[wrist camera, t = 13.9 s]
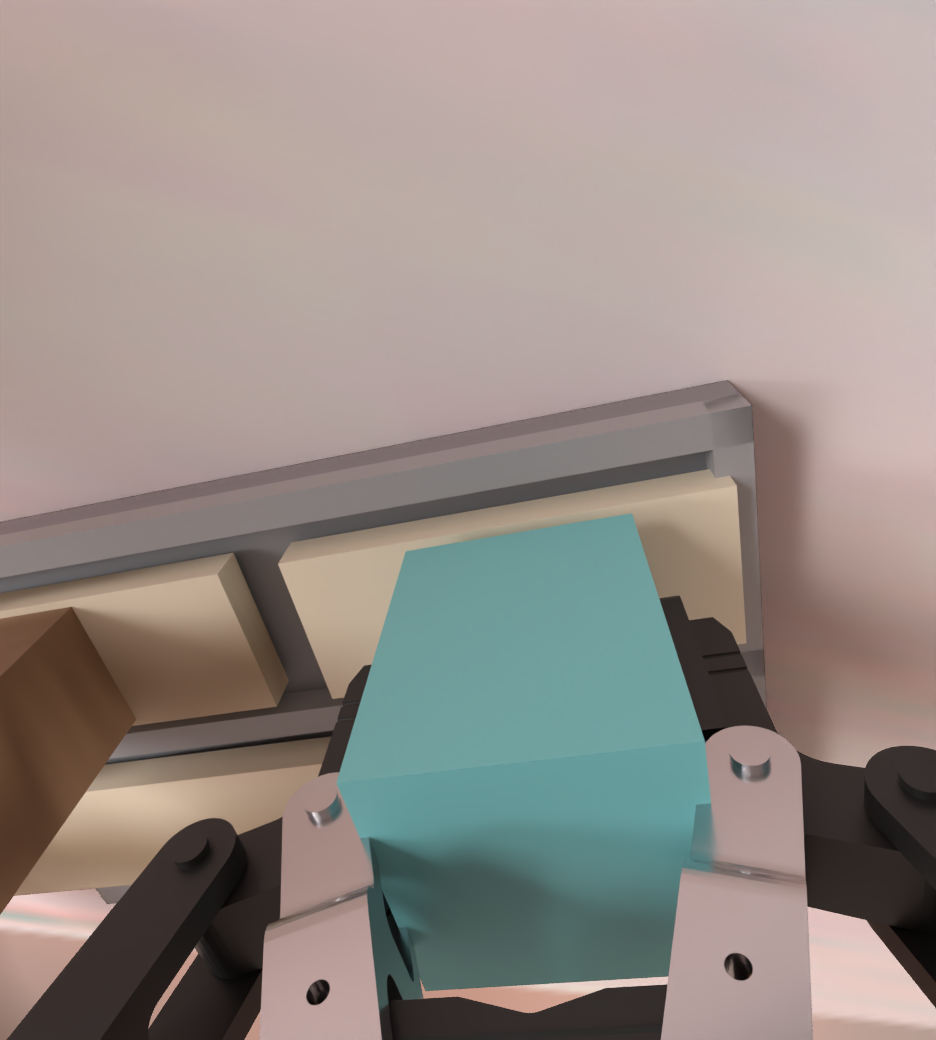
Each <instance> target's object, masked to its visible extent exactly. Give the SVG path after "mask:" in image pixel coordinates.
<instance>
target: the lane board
mask: <svg viewBox="0 0 936 1040" xmlns="http://www.w3.org/2000/svg"><path fill="white" fill-rule="evenodd" d="M631 513H632V515H633V518H634V521H635V524H636V528H637V531H638V534H639V537H640V540H641V543H642V546H643V549H644V552H645V556H646V559H647V562H648V565H649V568H650V571H651V574H652V577H653V581H654V584H655V587H656V590H657V593H658V596H659V598H664V597H671V596H678V595H679V596H680V597H681V600H682V602H683V605H684V608H685V610H686V613H687V616H688V619H689V620H695V619H702V618H709V617H713V618H715V619H716V620H717V621H719V622H720V623H721V624H722V625H724V626H725V627H726V628H727V629H729V630H730V631H731V632H732V634H733V636H734V638H735V641H736V643H737V645H738V647H739V649H740V653H741V655H742V656H743V658H744V661H745V663H746V665H747V669H748V671H749V672H750V674H751V676H752V678H753V681H754V683H755V685H756V687H757V689H758V692H759V694H760V696H761V698H762V701H763V703H764V705H765V707H766V686H765V665H764V645H763V624H762V604H761V583H760V562H759V542H758V521H757V501H756V480H755V459H754V439H753V418H752V405H751V404H750V403H749V402H748V401H747V400H746V399H745V398H744V397H743V396H742V395H741V394H740V392H739V391H738V390H737V389H736V388H735V387H734V386H733V385H732V384H731V383H730V382H729V381H728V380H727V381H722V382H717V383H712V384H706V385H701V386H696V387H691V388H686V389H681V390H676V391H670V392H665V393H660V394H655V395H650V396H645V397H640V398H635V399H629V400H624V401H619V402H614V403H609V404H604V405H599V406H594V407H588V408H583V409H578V410H573V411H568V412H563V413H558V414H552V415H547V416H542V417H537V418H532V419H527V420H522V421H517V422H511V423H506V424H501V425H496V426H491V427H486V428H481V429H476V430H470V431H465V432H460V433H455V434H450V435H445V436H440V437H434V438H429V439H424V440H419V441H414V442H409V443H404V444H399V445H393V446H388V447H383V448H378V449H373V450H368V451H363V452H358V453H352V454H347V455H342V456H337V457H332V458H327V459H322V460H316V461H311V462H306V463H301V464H296V465H291V466H286V467H281V468H275V469H270V470H265V471H260V472H255V473H250V474H245V475H240V476H234V477H229V478H224V479H219V480H214V481H209V482H204V483H198V484H193V485H188V486H183V487H178V488H173V489H168V490H163V491H157V492H152V493H147V494H142V495H137V496H132V497H127V498H122V499H116V500H111V501H106V502H101V503H96V504H91V505H86V506H80V507H75V508H70V509H65V510H60V511H55V512H50V513H45V514H39V515H34V516H29V517H24V518H19V519H14V520H9V521H4V522H0V593H6V592H12V591H17V590H23V589H29V588H34V587H40V586H46V585H52V584H57V583H63V582H69V581H74V580H80V579H86V578H91V577H97V576H103V575H109V574H114V573H120V572H126V571H131V570H137V569H143V568H148V567H154V566H160V565H166V564H171V563H177V562H183V561H188V560H194V559H200V558H205V557H211V556H217V555H223V554H228V553H234V555H235V558H236V560H237V562H238V564H239V567H240V569H241V571H242V574H243V576H244V578H245V581H246V583H247V585H248V588H249V590H250V592H251V594H252V597H253V599H254V601H255V604H256V606H257V608H258V611H259V613H260V615H261V618H262V620H263V622H264V624H265V627H266V629H267V631H268V634H269V636H270V638H271V641H272V643H273V645H274V648H275V650H276V652H277V654H278V657H279V659H280V661H281V664H282V666H283V668H284V671H285V673H286V675H287V678H288V680H289V681H288V683H287V686H286V688H285V690H284V692H283V694H282V697H281V699H280V701H279V703H278V705H277V707H270V708H263V709H255V710H248V711H240V712H233V713H225V714H218V715H211V716H203V717H196V718H188V719H181V720H173V721H166V722H159V723H151V724H144V725H136V726H131V728H130V729H129V731H128V732H127V734H126V735H125V736H124V738H123V739H122V741H121V742H120V744H119V745H118V746H117V748H116V749H115V751H114V752H113V754H112V755H111V756H110V758H109V759H108V761H107V762H106V764H105V765H107V764H115V763H123V762H131V761H139V760H147V759H155V758H162V757H170V756H178V755H186V754H194V753H202V752H210V751H218V750H226V749H234V748H242V747H250V746H258V745H266V744H274V743H282V742H290V741H298V740H306V739H314V738H322V737H330V736H332V733H333V730H334V727H335V724H336V723H337V722H338V719H337V718H338V715H339V712H340V709H341V707H343V700H344V697H345V694H346V691H347V688H348V685H349V683H350V682H351V681H352V679H353V678H354V677H355V676H356V675H357V673H358V672H359V671H360V670H361V669H362V667H363V666H365V665H372V662H373V659H374V655H375V652H376V649H377V645H378V642H379V639H380V635H381V632H382V629H383V625H384V622H385V619H386V615H387V612H388V609H389V605H390V602H391V599H392V595H393V592H394V589H395V585H396V582H397V579H398V575H399V572H400V569H401V565H402V562H403V559H404V555H405V552H406V551H410V550H416V549H422V548H428V547H434V546H440V545H446V544H452V543H458V542H464V541H470V540H476V539H482V538H488V537H494V536H500V535H506V534H512V533H517V532H523V531H529V530H535V529H541V528H547V527H553V526H559V525H565V524H571V523H577V522H583V521H589V520H595V519H601V518H607V517H613V516H619V515H625V514H631ZM766 709H767V707H766ZM130 886H131V885H124V886H113V887H103V888H96V890H97V891H98V892H99V894H100V895H101V897H102V898H103V900H104V901H105V902H106V904H113V903H117V902H118V901H119V900H120V899H121V898H122V896H123V895H124V894H125V893H126V891H127V890H128V889H129V888H130Z"/></svg>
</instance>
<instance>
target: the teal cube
mask: <svg viewBox="0 0 936 1040" xmlns="http://www.w3.org/2000/svg"><path fill="white" fill-rule="evenodd" d="M336 783H337V786H338V788H339V790H340V793H341V795H342V797H343V800H344V802H345V804H346V807H347V809H348V811H349V814H350V816H351V818H352V821H353V823H354V825H355V828H356V830H357V832H358V835H359V837H360V838H366V837H369V839H370V841H371V844H372V846H373V849H374V851H375V853H376V856H377V858H378V863H379V871H380V878H381V886H382V891H383V893H384V895H385V898H386V900H387V902H388V905H389V907H390V909H391V912H392V914H393V916H394V919H395V921H396V923H397V926H398V928H401V927H407V929H408V932H409V934H410V936H411V939H412V941H413V944H414V946H415V952H416V958H417V964H418V971H419V977H420V979H421V981H422V984H423V986H424V988H425V991H433V990H449V989H466V988H482V987H500V986H516V985H533V984H549V983H566V982H582V981H599V980H615V979H632V978H648V977H665V976H669V968H670V960H671V952H672V943H673V935H674V927H675V919H676V910H677V902H678V894H679V886H680V878H681V871H682V866H683V862H684V860H685V859H690V854H691V846H692V837H693V828H694V819H695V810H696V805H698V804H708V803H711V796H710V787H709V777H708V767H707V757H706V747H705V740H704V737H703V734H702V730H701V727H700V724H699V721H698V718H697V715H696V712H695V709H694V706H693V702H692V699H691V696H690V693H689V690H688V687H687V684H686V681H685V677H684V674H683V671H682V668H681V665H680V662H679V659H678V656H677V652H676V649H675V646H674V643H673V640H672V637H671V634H670V631H669V627H668V624H667V621H666V618H665V615H664V612H663V609H662V606H661V602H660V599H659V596H658V593H657V590H656V587H655V584H654V581H653V577H652V574H651V571H650V568H649V565H648V562H647V559H646V556H645V552H644V549H643V546H642V543H641V540H640V537H639V534H638V531H637V528H636V524H635V521H634V518H633V515H632V513H631V514H625V515H619V516H613V517H607V518H601V519H595V520H589V521H583V522H577V523H571V524H565V525H559V526H553V527H547V528H541V529H535V530H529V531H523V532H517V533H512V534H506V535H500V536H494V537H488V538H482V539H476V540H470V541H464V542H458V543H452V544H446V545H440V546H434V547H428V548H422V549H416V550H410V551H406V552H405V555H404V559H403V562H402V565H401V569H400V572H399V575H398V579H397V582H396V585H395V589H394V592H393V595H392V599H391V602H390V605H389V609H388V612H387V615H386V619H385V622H384V625H383V629H382V632H381V635H380V639H379V642H378V645H377V649H376V652H375V655H374V659H373V662H372V665H371V669H370V672H369V675H368V679H367V682H366V685H365V689H364V692H363V695H362V699H361V702H360V705H359V709H358V712H357V716H356V719H355V722H354V726H353V729H352V732H351V736H350V739H349V742H348V746H347V749H346V752H345V756H344V759H343V762H342V766H341V769H340V772H339V776H338V779H337V782H336Z"/></svg>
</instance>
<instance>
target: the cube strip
mask: <svg viewBox="0 0 936 1040" xmlns="http://www.w3.org/2000/svg"><path fill="white" fill-rule="evenodd" d="M330 739H331V736H330V737H322V738H314V739H306V740H298V741H290V742H282V743H274V744H266V745H258V746H250V747H242V748H234V749H226V750H218V751H210V752H202V753H194V754H186V755H178V756H170V757H162V758H155V759H147V760H139V761H131V762H123V763H115V764H107V765H104V767H103V768H102V769H101V771H100V772H99V774H98V775H97V777H96V778H95V779H94V781H93V782H92V784H91V785H90V787H89V788H88V790H87V791H86V792H85V794H84V795H83V797H82V798H81V800H80V801H79V802H78V804H77V805H76V807H75V808H74V810H73V811H72V812H71V814H70V815H69V817H68V818H67V820H66V821H65V823H64V824H63V825H62V827H61V828H60V830H59V831H58V833H57V834H56V835H55V837H54V838H53V840H52V841H51V843H50V844H49V846H48V847H47V848H46V850H45V851H44V853H43V854H42V856H41V857H40V858H39V860H38V861H37V863H36V864H35V866H34V867H33V868H32V870H31V871H30V873H29V874H28V876H27V877H26V879H25V880H24V881H23V883H22V884H21V886H20V887H19V889H18V890H17V891H16V893H15V894H14V896H17V895H27V894H38V893H49V892H60V891H70V890H81V889H92V888H103V887H113V886H124V885H132V884H133V883H134V881H135V880H136V879H137V878H138V876H139V875H140V874H141V873H142V872H143V870H144V869H145V868H146V867H147V865H148V864H149V863H150V862H151V860H152V859H153V858H154V857H155V855H156V854H157V853H158V852H159V850H160V849H161V848H162V847H163V846H164V845H165V843H166V842H167V841H168V840H169V839H170V838H171V837H173V836H174V835H175V834H176V833H178V832H179V831H180V830H182V829H183V828H185V827H187V826H188V825H191V824H193V823H195V822H197V821H200V820H204V819H208V818H221V819H224V820H226V821H228V822H230V824H231V825H232V826H233V827H234V829H235V831H236V833H237V835H239V834H242V833H244V832H247V831H249V830H252V829H254V828H257V827H260V826H262V825H265V824H267V823H270V822H272V821H275V820H277V819H279V818H281V817H283V813H284V810H285V807H286V805H287V803H288V801H289V800H290V798H291V797H292V796H293V795H294V794H295V792H296V791H297V790H298V789H300V788H301V787H302V786H303V785H305V784H306V783H307V782H309V781H311V780H313V779H314V778H316V777H318V775H319V772H320V769H321V766H322V763H323V760H324V757H325V754H326V751H327V748H328V745H329V742H330Z"/></svg>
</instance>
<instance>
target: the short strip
mask: <svg viewBox="0 0 936 1040" xmlns="http://www.w3.org/2000/svg"><path fill="white" fill-rule="evenodd" d="M288 681H289V680H288V678H287V675H286V673H285V671H284V668H283V666H282V664H281V661H280V659H279V657H278V654H277V652H276V650H275V648H274V645H273V643H272V641H271V638H270V636H269V634H268V631H267V629H266V627H265V624H264V622H263V620H262V618H261V615H260V613H259V611H258V608H257V606H256V604H255V601H254V599H253V597H252V594H251V592H250V590H249V588H248V585H247V583H246V581H245V578H244V576H243V574H242V571H241V569H240V567H239V564H238V562H237V560H236V558H235V555H234V553H228V554H223V555H217V556H211V557H205V558H200V559H194V560H188V561H183V562H177V563H171V564H166V565H160V566H154V567H148V568H143V569H137V570H131V571H126V572H120V573H114V574H109V575H103V576H97V577H91V578H86V579H80V580H74V581H69V582H63V583H57V584H52V585H46V586H40V587H34V588H29V589H23V590H17V591H12V592H6V593H0V914H1V913H2V912H3V910H4V909H5V907H6V906H7V904H8V903H9V902H10V900H11V899H12V897H13V896H14V894H15V893H16V891H17V890H18V889H19V887H20V886H21V884H22V883H23V881H24V880H25V879H26V877H27V876H28V874H29V873H30V871H31V870H32V868H33V867H34V866H35V864H36V863H37V861H38V860H39V858H40V857H41V856H42V854H43V853H44V851H45V850H46V848H47V847H48V846H49V844H50V843H51V841H52V840H53V838H54V837H55V835H56V834H57V833H58V831H59V830H60V828H61V827H62V825H63V824H64V823H65V821H66V820H67V818H68V817H69V815H70V814H71V812H72V811H73V810H74V808H75V807H76V805H77V804H78V802H79V801H80V800H81V798H82V797H83V795H84V794H85V792H86V791H87V790H88V788H89V787H90V785H91V784H92V782H93V781H94V779H95V778H96V777H97V775H98V774H99V772H100V771H101V769H102V768H103V767H104V765H105V764H106V762H107V761H108V759H109V758H110V756H111V755H112V754H113V752H114V751H115V749H116V748H117V746H118V745H119V744H120V742H121V741H122V739H123V738H124V736H125V735H126V734H127V732H128V731H129V729H130V728H131V726H136V725H144V724H151V723H159V722H166V721H173V720H181V719H188V718H196V717H203V716H211V715H218V714H225V713H233V712H240V711H248V710H255V709H263V708H270V707H277V705H278V703H279V701H280V699H281V697H282V694H283V692H284V690H285V688H286V686H287V683H288Z"/></svg>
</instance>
